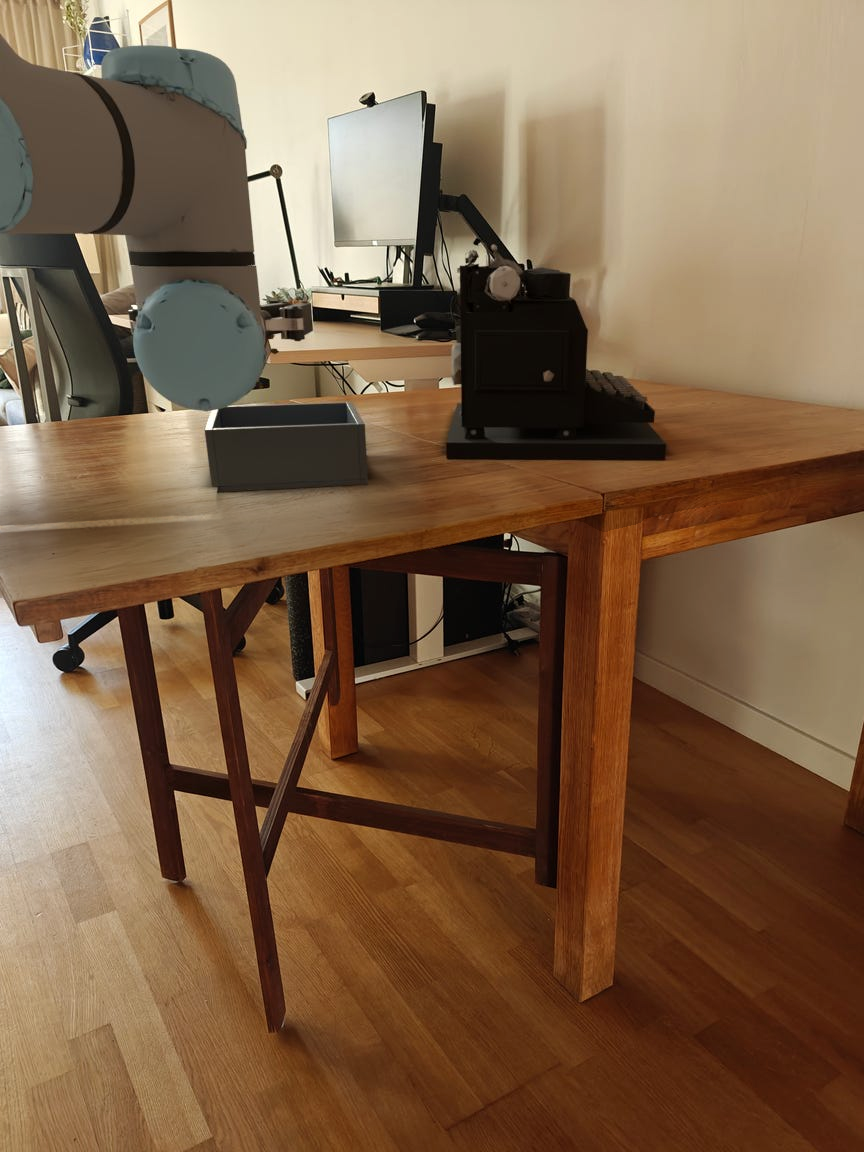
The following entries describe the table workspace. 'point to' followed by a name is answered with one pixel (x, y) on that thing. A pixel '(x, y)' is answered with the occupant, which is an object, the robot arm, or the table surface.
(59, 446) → the table surface
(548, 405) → the typewriter
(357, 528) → the table surface
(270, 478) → the bin
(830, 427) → the table surface
